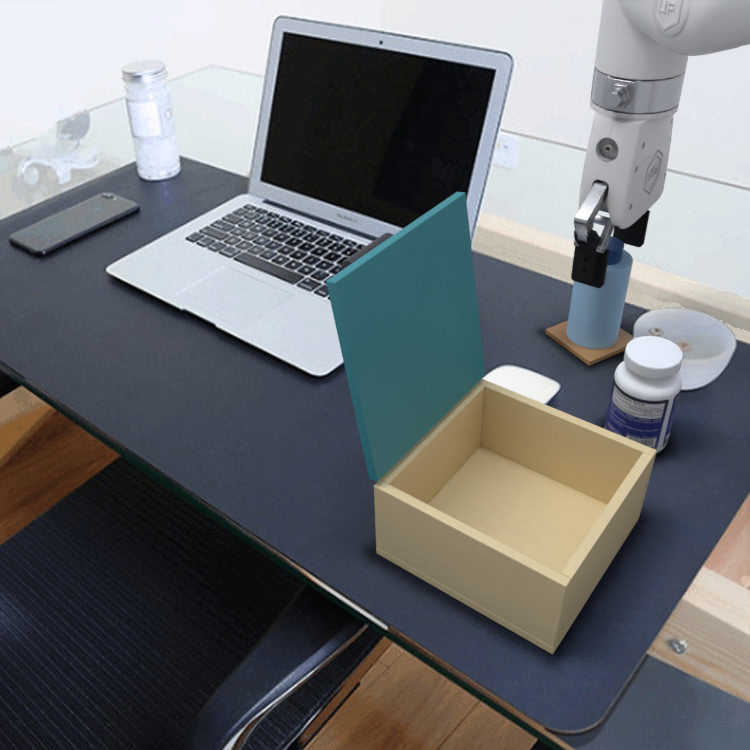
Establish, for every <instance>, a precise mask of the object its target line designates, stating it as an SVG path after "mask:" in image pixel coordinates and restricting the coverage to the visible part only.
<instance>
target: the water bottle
mask: <svg viewBox="0 0 750 750" xmlns="http://www.w3.org/2000/svg"><path fill="white" fill-rule="evenodd" d="M600 236H601V235H599V237H600ZM606 249H609V250H610V252H609V258H608V264H607V271H606V277H605V283H604V285H603V286H602V287H601V288H595V287H592V286H589V285H585V284H582V283H579V282H576V281H573V283H572V291H571V298H570V305H569V311H568V316H567V320H568V323H567V330H566V334H567V336H568V338H569V339H570V340H571V341H572V342H573V343H575V344H576V345H578V346H581V347H584V348H588V349H604V348H608V347H610V346H612V345H614V344H615V343H616V341H617V339H618V334H619V329H620V328H621V324H622V319H623V313H624V309H625V303H626V298H627V294H628V290H629V284H630V279H631V274H632V268H633V264H634V258H633V256H632V254H631V253H629V252H628V250H626V249H625V244H624V243H623V241H621V240H620V239H618V238H616V237H613V235H611V237H610V239H609V242H608V244H607V247H606Z"/></svg>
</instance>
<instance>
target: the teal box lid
mask: <svg viewBox="0 0 750 750" xmlns="http://www.w3.org/2000/svg"><path fill="white" fill-rule="evenodd" d="M467 203H468V202H467V194H466V192H462V191H456V192H454V193H453V194H451V195H450V196H449V197H447V198H445V199H444V200H443V201H441V202H440V203H438V204H437V205H436V206H434V207H433V208H431V209H430V210H428V211H426V212H425V213H423V214H422V215H420V216H419V217H417V218H416V219H415V220H414V221H413V220H412V222H411V223H409V224H408V225H406V226H405V227H403V228H402V229H400V230H399V231H397V232H396V233H394V234H393V233H391V232H384V233H383V234H381V235H380V236H379V237H377V238H376V239H374V240H373V241H371V242H370V243H368V244H367V245H365V246H363V247H362V248H361V249H359V250H357V251H356V252H355V253H353V254H352V255H350V256H348V257H347V258H346V259H344V260H343V261H342V263H341V266H340V271H339V272H337V273H335V274H334V275H332V276H331V277H330V278H328V279H327V280H326V281H325V282H326V288H327V292H328V297H329V300H330V306H331V310H332V316H333V320H334V324H335V329H336V334H337V337H338V343H339V348H340V352H341V357H342V362H343V365H344V370H345V375H346V379H347V383H348V389H349V391H350V392H349V393H350V397H351V402H352V407H353V412H354V415H355V420H356V425H357V429H358V434H359V439H360V443H361V447H362V452H363V457H364V461H365V466H366V470H367V475H368V479H369V480H370V481H374V482H376V483H377V482H378V481H379V480H380V479H381V478H382V477H383V476H384V475H385V474H386V473H387V472H388V471H389V470H390V469H391V468H392V467H393V466H394V465H395V464H396V463H397V462H398V461H399V460H400V459H401V458H402V457H403V456H404V455H405V454H406V453H407V452H408V451H409V450H410V449H411V448H412V447H413V446H414V445H415V444H416V443H417V442H418V441H419V440H420V439H421V438H422V437H423V436H424V435H425V434H426V433H427V432H428V431H429V430H430V429H431V428H432V427H433V426H434V425H435V424H436V423H437V422H438V421H439V420H440V419H441V418H442V417H443V416H445V415H446V414H447V413H448V412H449V411H450V410H451V409H452V408H453V407H454V406H455V405H456V404H457V403H458V402H459V401H460V400H461V399H462V398H463V397H464V396H465V395H466V394H467V393H468V392H469V391H470V390H471V389H472V388H473V387H474V386H475V385H476V384H477V383H478V382H479V381H480V380H481V379H484V377H485V376H486V367H485V359H484V357H485V356H484V348H483V341H482V340H483V339H482V330H481V323H480V322H481V321H480V312H479V303H478V295H477V294H478V293H477V286H476V276H475V266H474V258H473V248H472V239H471V231H470V230H471V229H470V221H469V213H468V212H469V211H468V204H467Z"/></svg>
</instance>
